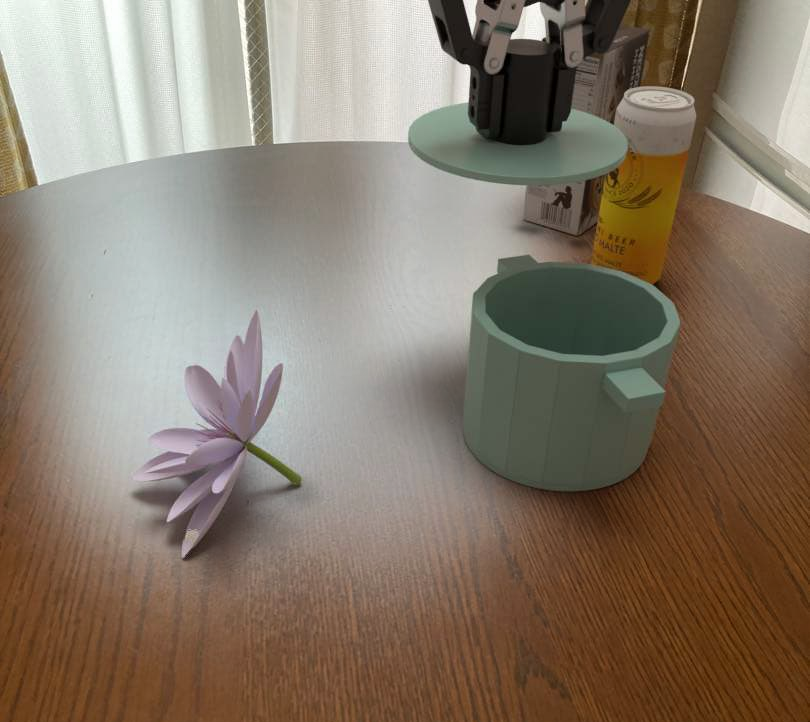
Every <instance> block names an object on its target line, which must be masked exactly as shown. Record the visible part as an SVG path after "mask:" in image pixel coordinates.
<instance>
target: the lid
mask: <svg viewBox="0 0 810 722" xmlns="http://www.w3.org/2000/svg"><path fill="white" fill-rule="evenodd" d="M556 55H557V48H556V47H555V46H554V45H552V44H550V43H548V42H544V41H542V40H539V39H533V38H510V42H509V46H508V49H507V53H506V56H505V60H504V64H503V67H502V69H501V70H500V72H501V73H503V74H504V75H505V76H504V88H503V99H502V111H501V122H500V133H499V137H498V138H494V139H485V138H484V137H483V136H481V135H480V134H479V133H478V132H477V131H476V127H475V126H474V125H473V124H472V123H470V120H469V116H468V105H469V101H468V102H461V103H455V104H451V105H447V106H442V107H439V108H436V109H433V110H431V111H429V112H426V113H424V114H422V115H421V116H419V117H418V118H416V119H415V120H414V121H412V123H411V124H410V126H409V128H408V131H407V142H408V143H407V144H408V146H409V148H410V151H412V153H413V154H414V155H415V156H416V157H417V158H419V159H420V160H421V161H422V162H424V163H426V164H427V165H430V167H431V166H432V167H433V168H435V169H437V170H441V171H443V172H446V173H449V174H452V175H455V176H458V177H462V178H466V179H470V180H475V181H479V182H485V183H492V184H500V185H501V184H502V185H510V186H511V185H512V186H527V185H556V184H567V183H573V182H580V181H584V180H588V179H592V178H595V177H599V176H602V175H604V174H606V173H608V172H611V171H612V170H614V169H615V168H617V167H618V166H619V165H620V164H621V163H622V162H623V161H624V159H625V158H626V154H627V148H628V143H627V139H626V137H625V135H624V134H623V133H622V132H621V131H620V130H619V129H618V128H617V127H615V126H614V125H612V124H611V123H609V122H607V121H605V120H603V119H601V118H599V117H596V116H594V115H591V114H588V113H585V112H582V111H579V110H575V109H571V113H570V115H569V117H568V119H567V121H563V123H562V128H561V130H560V131H559V132H552V133H548V132H547V129H548V121H549V113H550V104H551V96H552V88H553V80H554V71H555V63H556Z"/></svg>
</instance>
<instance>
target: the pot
mask: <svg viewBox="0 0 810 722" xmlns="http://www.w3.org/2000/svg"><path fill="white" fill-rule="evenodd" d="M496 267H497V268H496V273H495V274H494V275H490V276H488V277H486V279H485V280H484V281H483V282H482V283H481V284H480V286H479V287H478V288H477V289H476V290H475V291H474V292H473V293H472V294H473V295H472V300H471V313H470V314H471V315H470V325H469V327H470V328H469V339H468V343H469V344H468V353H467V365H466V377H465V378H466V379H465V391H464V402H463V403H464V404H463V405H464V406H463V422H462V423H463V425H462V432H463V437H464V441H465V443H466V446H468V449H469V452H471V453H472V455H473V456H474V457H475V458H476V459H477V460H478V461H479V462H480V463H481V464H482V465H483V466H485V467H486V468H487V469H489V470H490V471H492V472H494V473H495V474H497V475H499V476H500V477H503V478H505V479H507V480H510V481H511V482H514V483H517V484H520V485H523V486H527V487H530V488H534V489H539V490H545V491H554V492H585V491H586V492H587V491H592V490H599V489H602V488H607V487H610V486H612V485H615V484H617V483H619V482H621V481H623V480H625V479H627V478H629V477H630V476H631V475H632V474H635V472H636V471H637V470H638V469H639V468H640V467H641V466H642V464H643V463H644V461H645V460H646V457H647V454H648V451H649V448H650V446H651V444H652V442H653V441H652V440H653V436H654V433H655V428H656V425H657V420H658V417H659V413H660V409H661V407H663V404H664V400H665V397H666V390H665V388H666V384H667V381H668V376H669V372H670V368H671V364H672V360H673V356H674V354H675V353H674V352H675V349H676V344H677V340H678V336H679V332H680V330H681V329H680V328H681V321H680V317H679V313H678V311H677V308H676V305H675V303H674V302H673V301H672V300H671V299H670V298H669V297H668V296H667V295H666V294H664V293H663V292H662V291H660V290H659V289H658V288H657V287H656V286H655V285H654V284H649V283H647V282H645V281H643V280H640V279H638V278H636V277H634V276H631V275H629V274H627V273H625V272H622V271H618V270H613V269H609V268H604V267H600V266H595V265H591V263H586V262H567V261H565V262H564V261H544V262H537V260H536V259H535V258H534V257H532V256H531V255H530V254H523V255H517V256H516V255H515V256H509V257H503V258H498V259H497V266H496Z"/></svg>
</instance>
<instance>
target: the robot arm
mask: <svg viewBox="0 0 810 722" xmlns="http://www.w3.org/2000/svg"><path fill="white" fill-rule="evenodd" d="M631 1H632V0H587V1H586V0H476V4H475V9H474V13H475V24H474V27H473V31H472V30H471V25H470V22H469V18H468V14H467V11H466V10H467V9H466V6H465V3H464V0H427V2H428V6H429V9H430V13H431V16H432V19H433V24H434V27H435V31H436V33H437V37H438V40H439V44H440V48H441V50H442V51H443V52H444V53H445V54H447V55H449V57H451V58H452V59H454V60H455V61H456V62H458V63H459V64H461V65H464V66H465V65H467V66H469V71H470V74H469V88H468V89H469V90H468V102H469V105H468V116H469V120H470V123H472V124H473V125H474V126H475V127H476V131H477V132H478V133H479V134H480V135H481V136H483V137H484V138H485V139H494V138H498V137H499V133H500V122H501V111H502V99H503V88H504V76H505V75H504V74H503V73H501V72H500V70H501V69H502V67H503V64H504V60H505V56H506V53H507V49H508V46H509V42H510V39H512V35H513V33H515V32H516V31H517V30H518V28H519V25H520V23H521V22H520V20H521V17H522V14H523V11H524V8H527V7H530V6H532V5H535V4H538V3H539V10H540V13H541V15H542V17H543V20H544V28H545V37H546V42H548V43H550V44H552V45H554V46H555V47H556V48H557V55H556V63H555V71H554V80H553V88H552V96H551V104H550V113H549V121H548V129H547V132H548V133H552V132H559V131H560V130H561V128H562V123H563V121H567V119H568V117H569V115H570V113H571V106H572V99H573V91H574V84H575V76H576V70H577V67H578V65H579V64H580V63H581V61H582V59H584V58H585V57H587V56H589V55H591V54H593V53H595V52H597V53H599V54H603V53H605V52H606V51H608V49H609V48H610V46H611V44H612V42H613V40H614V37H615V35H616V33H617V31H618V28H619V26H620V24H621V23H623V19H624V18H625V15H626V13H627V10H628V8H629V6H630V4H631Z"/></svg>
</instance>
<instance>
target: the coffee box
mask: <svg viewBox="0 0 810 722" xmlns="http://www.w3.org/2000/svg"><path fill="white" fill-rule="evenodd" d="M650 32H651V29H649V28H648V29H647V28H641V27H636V26H631V25H629V24H626V23H623V22H621V24H620V26H619V28H618V31H617V33H616V35H615V37H614V40H613V42H612V44H611V46H610V48H609V49H608V51H606V52H605V53H603V54H599V53H597V52H595V53H593V54H591V55H589V56H587V57H585V58H584V59H582V61H581V63H580V64H579V65H578V67H577V70H576V76H575V84H574V91H573V99H572V106H571V109H575V110H579V111H582V112H585V113H588V114H591V115H594V116H596V117H599V118H601V119H603V120H605V121H607V122H609V123H611V124H612V125H614V121H615V115H616V109H617V107H618V105H619V104H620V102H621V101H622V99H623V97H624V93H625V92H626V91H627V90H629V89H632V88H637V87H641V84H642V80H643V73H644V67H645V62H646V55H647V50H648V44H649V37H650ZM541 41H544V42H546V36H545V37H542V39H541ZM605 175H606V174H604V175H602V176H599V177H595V178H592V179H588V180H584V181H580V182H573V183H567V184H556V185H526V187H525V196H524V205H523V206H524V207H523V216H522V218H523V220H524V221H527V222H530V223H533V224H536V225H539V226H543V227H546V228H550V229H553V230H556V231H558V232H562V233H566V234H569V235H572V236H577V237H578V236H580V235H582V234H583V233H584V232H586V231H587V230H589V229H590V228H591V227H593V226H594V225H595V224H597V223H598V217H599V211H600V205H601V199H602V193H603V187H604V181H605Z"/></svg>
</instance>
